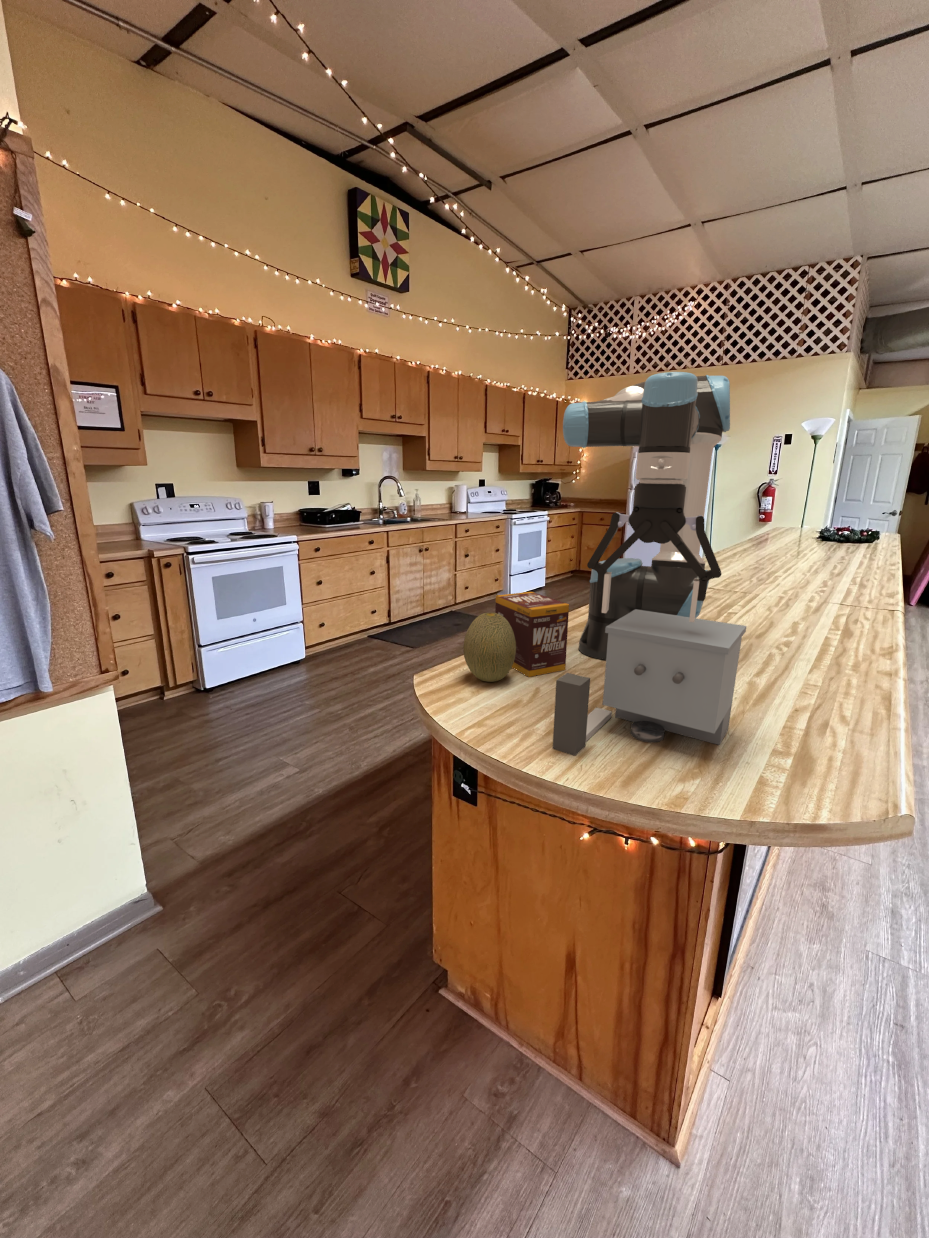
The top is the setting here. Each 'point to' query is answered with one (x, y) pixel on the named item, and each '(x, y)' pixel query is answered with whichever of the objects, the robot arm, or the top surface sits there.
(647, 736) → the steel puck
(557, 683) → the scraper
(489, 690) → the top surface
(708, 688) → the cabinet
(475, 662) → the fruit
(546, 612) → the supplement box
